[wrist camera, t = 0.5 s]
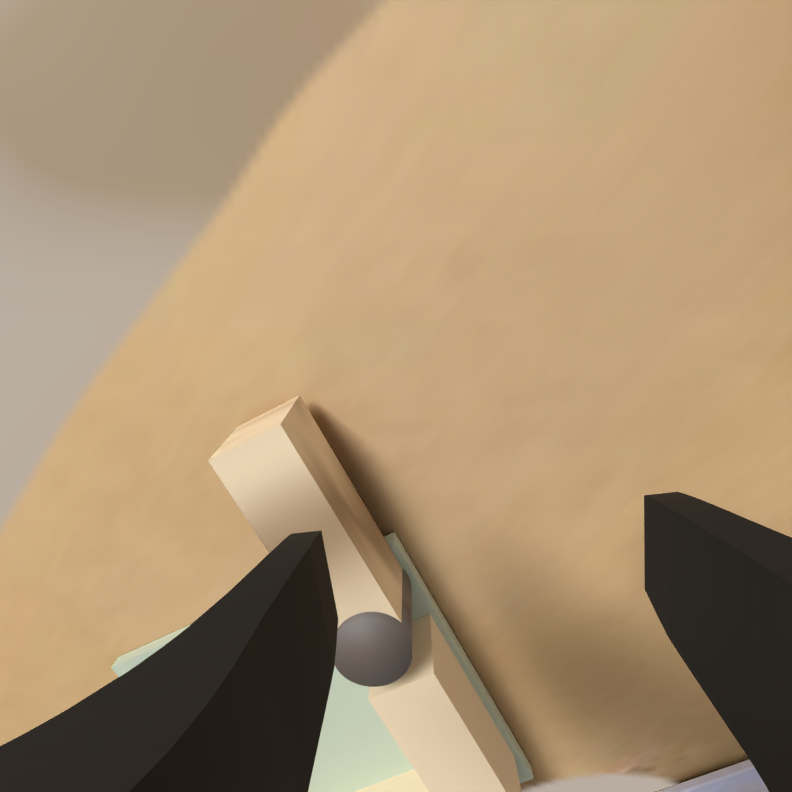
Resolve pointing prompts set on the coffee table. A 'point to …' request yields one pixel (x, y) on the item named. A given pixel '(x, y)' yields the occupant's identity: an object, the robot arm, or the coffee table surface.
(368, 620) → the beige long rectangular block
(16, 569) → the coffee table surface
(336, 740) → the hinged beam frame
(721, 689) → the robot arm
